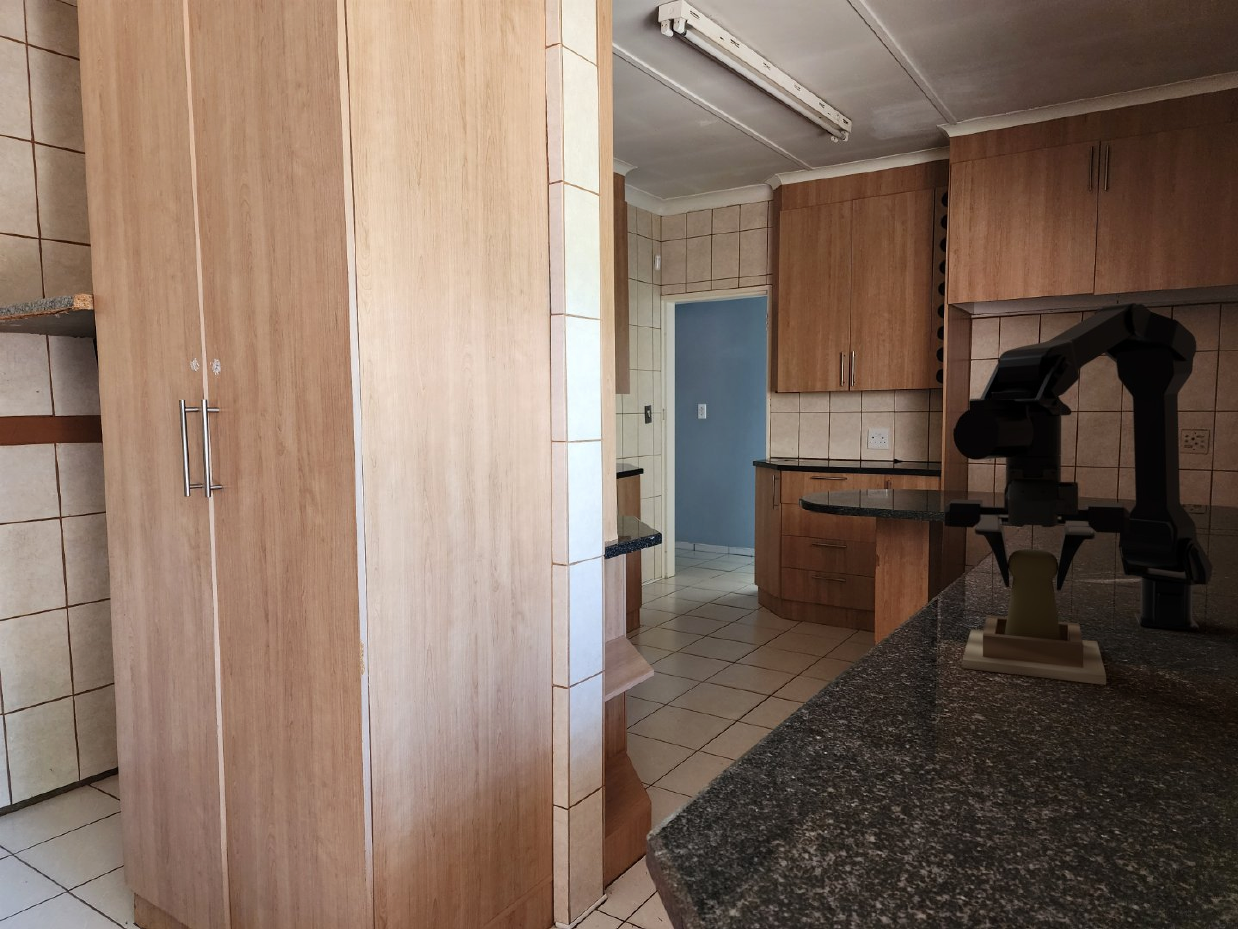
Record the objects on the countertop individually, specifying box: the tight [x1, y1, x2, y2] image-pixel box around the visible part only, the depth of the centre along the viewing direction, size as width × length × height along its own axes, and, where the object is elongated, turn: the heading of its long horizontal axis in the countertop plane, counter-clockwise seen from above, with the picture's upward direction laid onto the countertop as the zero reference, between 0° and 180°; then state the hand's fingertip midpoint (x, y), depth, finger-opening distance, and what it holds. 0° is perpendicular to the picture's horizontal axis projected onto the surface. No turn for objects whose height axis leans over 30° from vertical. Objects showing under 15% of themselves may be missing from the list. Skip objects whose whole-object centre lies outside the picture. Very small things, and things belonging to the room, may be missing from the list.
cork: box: [1005, 548, 1061, 640], centre depth 92 cm, size 6×6×11 cm
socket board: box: [962, 615, 1107, 686], centre depth 92 cm, size 14×14×4 cm
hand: (1032, 588), depth 92 cm, fingers closed on cork, 5 cm apart
